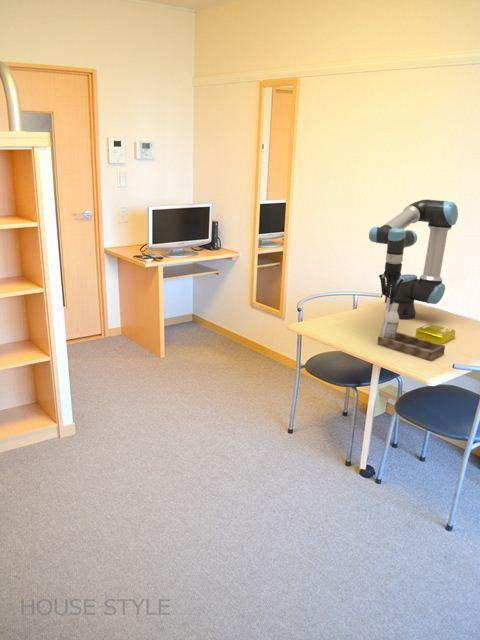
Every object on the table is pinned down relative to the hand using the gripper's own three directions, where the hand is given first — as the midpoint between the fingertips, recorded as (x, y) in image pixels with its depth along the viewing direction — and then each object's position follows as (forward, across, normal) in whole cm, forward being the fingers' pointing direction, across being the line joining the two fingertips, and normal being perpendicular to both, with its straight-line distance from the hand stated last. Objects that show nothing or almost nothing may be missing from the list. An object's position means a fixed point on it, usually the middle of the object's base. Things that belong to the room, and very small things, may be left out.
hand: (388, 310), depth 260 cm
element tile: (+17, +14, +25) cm, 33 cm away
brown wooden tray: (+16, +13, 0) cm, 21 cm away
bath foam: (+16, +1, 0) cm, 16 cm away
